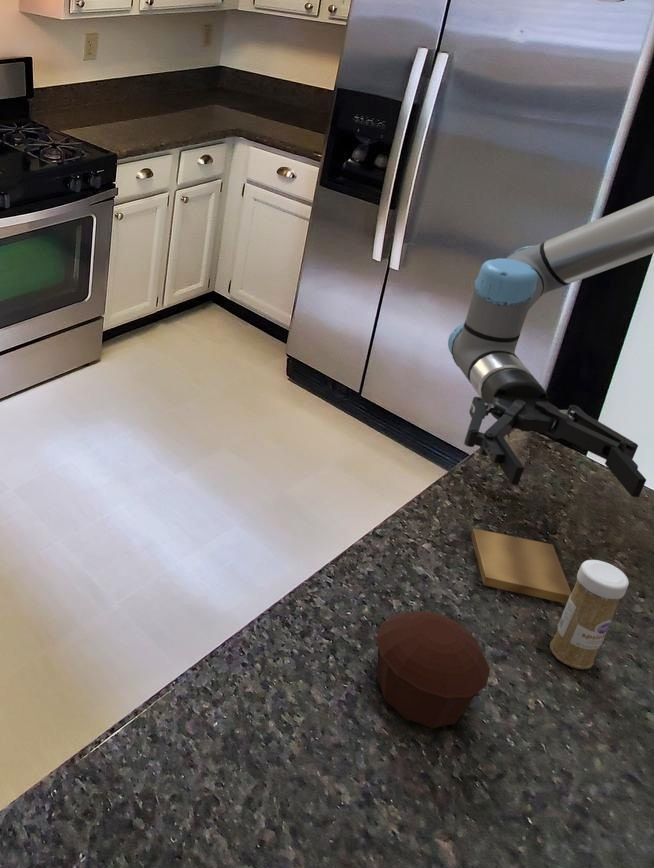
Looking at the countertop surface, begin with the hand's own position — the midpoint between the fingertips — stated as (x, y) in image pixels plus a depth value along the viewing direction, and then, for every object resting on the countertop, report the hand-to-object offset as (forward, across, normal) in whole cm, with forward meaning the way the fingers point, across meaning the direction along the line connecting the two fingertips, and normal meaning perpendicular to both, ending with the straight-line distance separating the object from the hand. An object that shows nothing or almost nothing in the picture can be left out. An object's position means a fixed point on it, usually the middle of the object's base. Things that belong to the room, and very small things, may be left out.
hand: (577, 482), depth 98 cm
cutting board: (-4, 0, -19) cm, 19 cm away
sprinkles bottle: (+10, 0, -19) cm, 21 cm away
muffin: (+18, +20, -19) cm, 33 cm away
